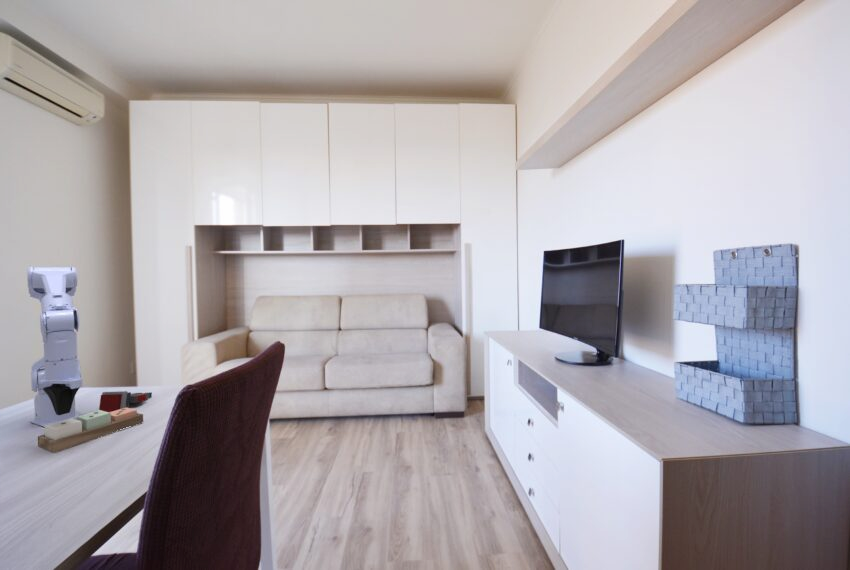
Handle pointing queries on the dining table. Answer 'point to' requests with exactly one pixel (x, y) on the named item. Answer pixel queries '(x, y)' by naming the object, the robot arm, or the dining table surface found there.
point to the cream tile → (63, 429)
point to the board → (87, 434)
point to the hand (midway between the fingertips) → (63, 413)
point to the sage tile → (94, 419)
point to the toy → (120, 400)
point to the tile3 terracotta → (122, 414)
